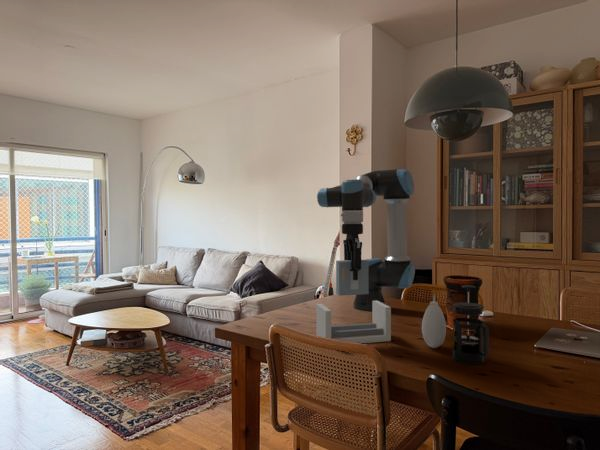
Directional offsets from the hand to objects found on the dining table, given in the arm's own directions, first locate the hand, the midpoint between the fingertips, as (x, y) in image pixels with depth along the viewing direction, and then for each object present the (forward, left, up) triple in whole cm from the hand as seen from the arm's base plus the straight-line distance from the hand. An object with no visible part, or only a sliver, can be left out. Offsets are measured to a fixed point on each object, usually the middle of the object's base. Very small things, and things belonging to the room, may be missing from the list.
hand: (352, 288), depth 155 cm
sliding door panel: (0, 0, -2) cm, 2 cm away
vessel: (-47, -4, -19) cm, 51 cm away
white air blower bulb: (-23, +16, -19) cm, 34 cm away
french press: (-27, +30, -19) cm, 44 cm away
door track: (0, 0, -18) cm, 18 cm away
